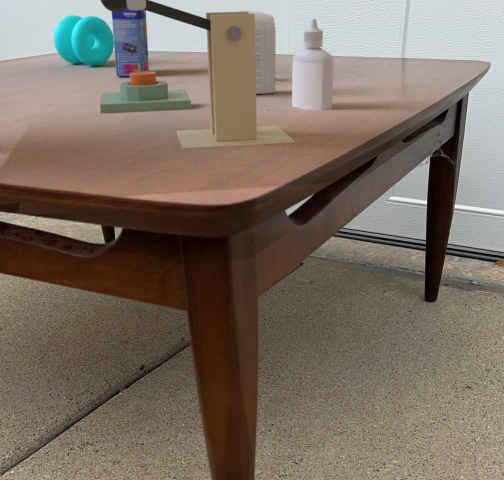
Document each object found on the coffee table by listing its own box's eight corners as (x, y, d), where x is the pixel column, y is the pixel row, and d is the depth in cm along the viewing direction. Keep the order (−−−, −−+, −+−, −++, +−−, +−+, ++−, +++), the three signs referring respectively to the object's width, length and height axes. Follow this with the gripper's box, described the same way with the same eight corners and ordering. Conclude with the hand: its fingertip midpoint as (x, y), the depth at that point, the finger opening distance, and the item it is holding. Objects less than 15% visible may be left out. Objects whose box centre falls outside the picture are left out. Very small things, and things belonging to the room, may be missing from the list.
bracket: (183, 159, 72) (174, 17, 66) (177, 141, 80) (168, 12, 74) (295, 152, 74) (296, 13, 68) (278, 135, 82) (277, 9, 76)
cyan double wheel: (93, 61, 157) (87, 13, 153) (118, 64, 151) (114, 14, 146) (54, 65, 151) (47, 16, 146) (79, 68, 144) (73, 17, 140)
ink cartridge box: (145, 77, 131) (138, -7, 125) (115, 77, 131) (107, -6, 125) (151, 70, 140) (145, -8, 134) (123, 71, 140) (116, -7, 133)
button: (130, 88, 94) (129, 75, 93) (130, 84, 97) (129, 71, 96) (157, 87, 94) (156, 74, 93) (156, 83, 97) (155, 70, 97)
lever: (95, 7, 67) (102, -28, 66) (96, 6, 70) (103, -28, 69) (240, 52, 71) (249, 21, 70) (236, 49, 74) (244, 19, 73)
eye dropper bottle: (304, 119, 90) (305, 21, 85) (289, 112, 95) (289, 18, 90) (335, 117, 91) (338, 19, 86) (318, 110, 96) (320, 17, 91)
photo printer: (271, 90, 113) (270, 8, 108) (279, 94, 109) (278, 10, 104) (210, 94, 111) (206, 11, 105) (215, 98, 107) (212, 12, 102)
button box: (101, 121, 92) (98, 90, 90) (103, 108, 101) (100, 80, 99) (191, 116, 93) (189, 86, 92) (185, 104, 102) (183, 76, 101)
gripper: (92, -138, 72) (106, 5, 78) (82, -177, 54) (101, 14, 60) (152, -138, 73) (162, 3, 79) (162, -176, 55) (174, 12, 61)
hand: (136, 8), depth 69 cm, fingers open, 6 cm apart
